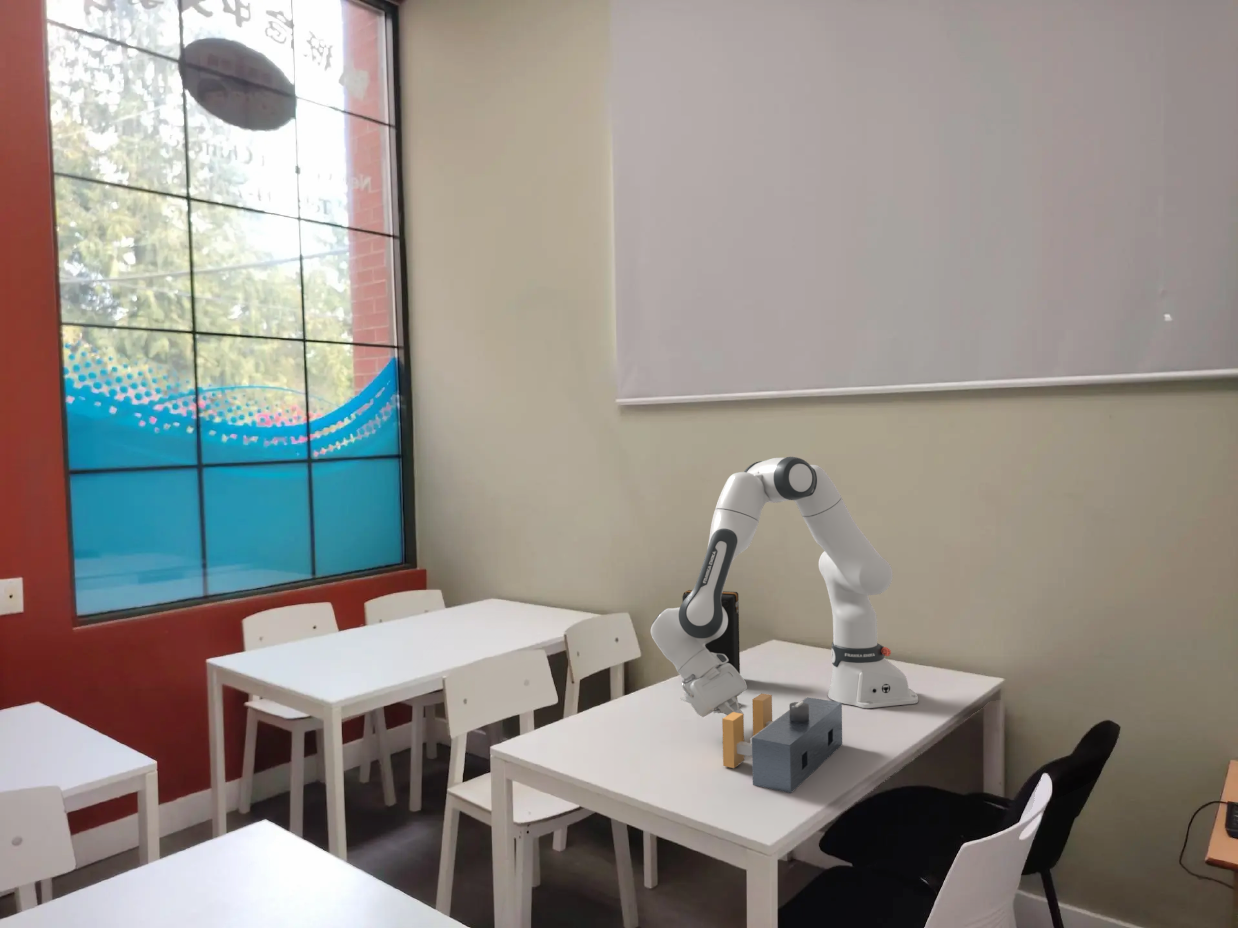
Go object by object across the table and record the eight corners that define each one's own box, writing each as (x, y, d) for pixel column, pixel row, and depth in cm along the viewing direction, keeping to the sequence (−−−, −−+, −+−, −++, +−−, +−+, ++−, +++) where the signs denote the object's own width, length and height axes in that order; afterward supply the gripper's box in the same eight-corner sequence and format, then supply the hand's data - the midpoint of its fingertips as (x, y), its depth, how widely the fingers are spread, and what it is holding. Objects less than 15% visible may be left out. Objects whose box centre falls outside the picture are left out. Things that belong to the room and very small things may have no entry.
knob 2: (753, 743, 196) (752, 699, 196) (762, 736, 200) (761, 693, 200) (815, 755, 188) (814, 709, 188) (823, 747, 192) (822, 702, 192)
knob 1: (723, 765, 183) (722, 718, 183) (733, 757, 188) (732, 711, 187) (788, 779, 175) (787, 730, 175) (797, 771, 180) (797, 722, 179)
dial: (786, 720, 184) (786, 704, 184) (794, 714, 187) (793, 699, 187) (804, 723, 182) (804, 707, 181) (811, 717, 185) (811, 701, 185)
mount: (750, 784, 175) (750, 737, 174) (806, 737, 200) (805, 696, 199) (790, 793, 170) (789, 744, 170) (842, 744, 195) (841, 702, 195)
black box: (742, 677, 249) (740, 590, 248) (735, 686, 241) (734, 596, 240) (688, 673, 254) (686, 588, 253) (680, 682, 246) (678, 593, 245)
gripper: (687, 673, 195) (727, 723, 190) (728, 652, 212) (766, 698, 207) (670, 690, 198) (709, 740, 193) (711, 668, 215) (749, 714, 210)
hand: (739, 718), depth 200 cm, fingers closed
